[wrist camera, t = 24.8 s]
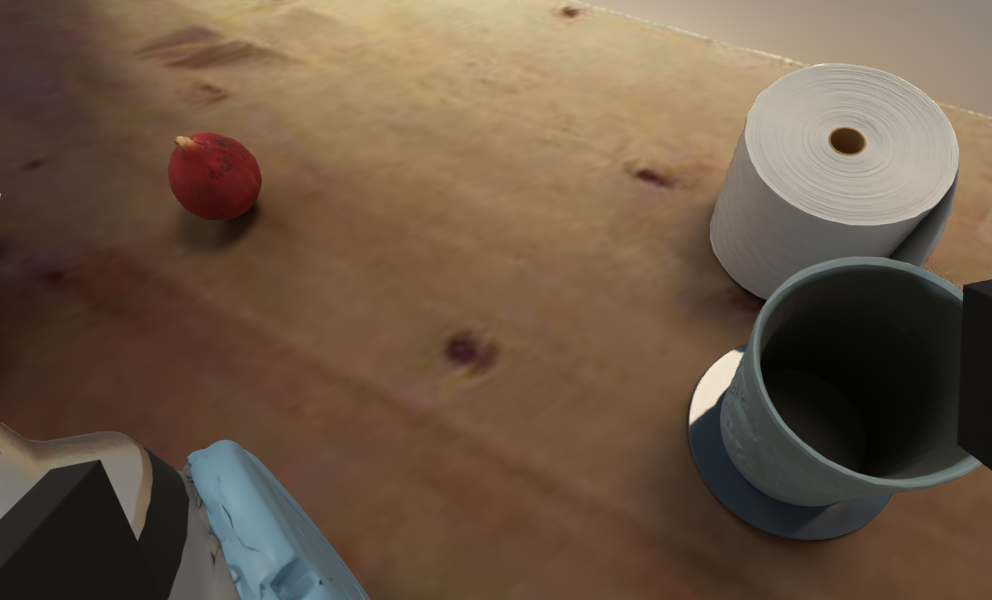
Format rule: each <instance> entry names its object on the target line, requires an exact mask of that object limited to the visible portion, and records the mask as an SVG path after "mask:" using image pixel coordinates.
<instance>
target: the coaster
mask: <svg viewBox="0 0 992 600" xmlns="http://www.w3.org/2000/svg"><path fill="white" fill-rule="evenodd" d="M747 346H748V344H744V345H742V346H740V347H737V348H735V349H733V350H731V351H729V352H728V353H726V354H724V355H723V356H722V357H720V358H719V359H718V360H717V361H715V362H714V363H713V364H712V365H711V366H710V367H709V369H708V370H707V371H706V372H705V373H704V375H703V376H702V378H701V379H700V381H699V382H698V384H697V386H696V388H695V390H694V392H693V395H692V398H691V401H690V404H689V409H688V415H687V436H688V444H689V448H690V452H691V456H692V458H693V461H694V464H695V466H696V469H697V471H698V472H699V474H700V476H701V478H702V480H703V482H704V483H705V484H706V486H707V487H708V489H709V490H710V492H711V493H712V494H713V495H714V496H715V497H716V499H717V500H718V501H719V502H720V503H721V504H722V505H723V506H724V507H725V508H726V509H728V510H729V511H730V512H731V513H732V514H733V515H735V516H736V517H738V518H739V519H740V520H742V521H743V522H745V523H747V524H749V525H750V526H752V527H754V528H756V529H758V530H760V531H763V532H765V533H768V534H770V535H773V536H777V537H781V538H784V539H791V540H798V541H819V540H827V539H831V538H835V537H839V536H842V535H846V534H848V533H850V532H852V531H855V530H857V529H859V528H860V527H862V526H864V525H865V524H867V523H868V522H870V521H871V520H872V519H873V518H874V517H875V516H876V515H877V514H879V513H880V511H881V510H882V509H883V508H884V506H885V505H886V504H887V503H888V501H889V499H890V497H891V495H892V494H888V495H883V496H877V497H867V498H864V499H859V500H851V501H844V502H838V503H834V504H830V505H825V506H816V507H808V506H798V505H793V504H788V503H785V502H782V501H779V500H777V499H774V498H772V497H770V496H768V495H766V494H765V493H763V492H762V491H760V490H758V489H757V488H755V487H754V486H753V485H752V484H751V483H750V482H748V481H747V480H746V479H745V478H744V477H743V475H742V474H741V473H740V472H739V471H738V470H737V468H736V467H735V465H734V464H733V462H732V461H731V459H730V457H729V455H728V453H727V451H726V448H725V446H724V442H723V439H722V434H721V428H720V414H721V406H722V403H723V399H724V397H725V394H726V392H727V390H728V388H729V385H730V383H731V381H732V379H733V377H734V375H735V372H736V369H737V367H738V365H739V362H740V360H741V358H742V356H743V354H744V353H745V351H746V349H747Z"/></svg>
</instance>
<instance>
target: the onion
mask: <svg viewBox="0 0 992 600" xmlns="http://www.w3.org/2000/svg"><path fill="white" fill-rule="evenodd" d="M175 143H176V144H177V146H176V148H175V149H174V151H173V153H172V154H171V158H170V162H169V166H168V176H169V181H170V186H171V189H172V192H173V193H174V195H175V197H176V198H177V200H178V201H179V202H180V203H181V204H182V206H183V207H184V208H185V209H186V210H188V211H189V212H191V213H192V214H195V215H197V216H199V217H201V218H204V219H206V220H229V219H232V218H235V217H239V216H240V215H242V214H243V213H245V212H246V211H248V210H249V208H250V207H251V206H252V205H253V203H254V202H255V201H256V200H257V198H258V195H259V191H260V188H261V181H262V178H261V174H260V170H259V166H258V164H257V162H256V159H255V157H254V156H253V155H252V154H251V153H250V152H249V151H248V150H247V149H246V148H245V147H244V146H243V145H241V144H240V143H239V142H237V141H236V140H234V139H232V138H228V137H224V136H221V135H218V134H215V133H199V134H194V135H192V136H190V137H185V136H177V137H176V138H175Z"/></svg>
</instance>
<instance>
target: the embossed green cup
mask: <svg viewBox="0 0 992 600" xmlns="http://www.w3.org/2000/svg"><path fill="white" fill-rule="evenodd" d="M962 305H963V291H961V290H960V289H959V288H957V287H956V286H954V285H953V284H951V283H950V282H948V281H946V280H945V279H943V278H941V277H939V276H937V275H936V274H934V273H932V272H930V271H927V270H925V269H922V268H919V267H917V266H914V265H912V264H909V263H905V262H900V261H896V260H892V259H888V258H880V257H860V256H855V257H846V258H838V259H834V260H830V261H826V262H823V263H819V264H816V265H813V266H811V267H808V268H806V269H803V270H801V271H799V272H798V273H796V274H794V275H793V276H791V277H790V278H788V279H787V280H786V281H785V282H784V283H783V284H782V285H780V286H779V287H778V288H777V289H776V290H775V292H774V293H773V294H772V295H771V296H770V297H769V299H768V300H767V301H766V303H765V304H764V306H763V307H762V309H761V311H760V313H759V315H758V317H757V320H756V322H755V324H754V327H753V330H752V333H751V336H750V339H749V342H748V346H747V349H746V351H745V353H744V354H743V356H742V358H741V360H740V362H739V365H738V367H737V369H736V372H735V375H734V377H733V379H732V381H731V383H730V385H729V388H728V390H727V392H726V394H725V397H724V399H723V403H722V406H721V414H720V428H721V434H722V439H723V442H724V446H725V448H726V451H727V453H728V455H729V457H730V459H731V461H732V462H733V464H734V465H735V467H736V468H737V470H738V471H739V472H740V473H741V474H742V475H743V477H744V478H745V479H746V480H747V481H748V482H750V483H751V484H752V485H753V486H754V487H755V488H757V489H758V490H760V491H762V492H763V493H765V494H766V495H768V496H770V497H772V498H774V499H777V500H779V501H782V502H785V503H788V504H793V505H798V506H808V507H816V506H825V505H830V504H834V503H838V502H844V501H851V500H859V499H864V498H867V497H877V496H883V495H888V494H893V493H897V492H905V491H911V490H917V489H923V488H930V487H933V486H937V485H940V484H944V483H947V482H950V481H953V480H956V479H958V478H960V477H963V476H965V475H967V474H968V473H970V472H971V471H973V470H974V469H976V468H977V467H979V466H980V465H982V464H983V463H981V462H980V461H979V460H977V459H976V458H975V457H973V456H972V455H971V454H969V453H968V452H967V451H965V450H964V449H963V448H961V447H960V446H959V445H957V428H958V403H959V379H960V354H961V330H962Z"/></svg>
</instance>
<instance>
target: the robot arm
mask: <svg viewBox="0 0 992 600" xmlns="http://www.w3.org/2000/svg"><path fill="white" fill-rule="evenodd" d="M957 445H959V446H960V447H961V448H963V449H964V450H965V451H967V452H968V453H969V454H971V455H972V456H973V457H975V458H976V459H977V460H979V461H980V462H981V463H983V464H984V465H985V466H986V467H988V468H989V469H990V470H992V279H991V280H986V281H981V282H976V283H971V284H966V285H963V305H962V330H961V354H960V379H959V403H958V428H957ZM187 458H188V459H189V460H188V462H187V463H186V465H185V467H184V469H183V470H182V471H178V470H175V469H174V468H173V467H171V466H169V465H168V464H166V463H165V462H164V461H162V460H161V459H160V458H158V457H157V456H156V455H154V454H153V453H152V452H150V451H149V450H147V449H146V448H145V447H143V446H142V445H141V444H139V443H138V442H137V441H135V440H133V439H131V438H130V437H128V436H127V435H125V434H124V433H119V432H113V431H107V432H95V433H90V434H84V435H78V436H72V437H67V438H61V439H55V440H49V441H36V440H27V439H26V438H24V437H23V436H21V435H20V434H18V433H17V432H15V431H14V430H12V429H11V428H9V427H8V426H6V425H5V424H3V423H2V422H0V600H370V598H369V597H368V595H367V594H366V592H365V591H364V590H363V588H362V587H361V585H360V584H359V582H358V581H357V580H356V578H355V577H354V575H353V574H352V573H351V571H350V570H349V569H348V567H347V566H346V564H345V563H344V562H343V560H342V559H341V558H340V556H339V555H338V554H337V552H336V551H335V550H334V548H333V547H332V546H331V544H330V543H329V542H328V541H327V539H326V538H325V537H324V535H323V534H322V533H321V532H320V530H319V529H318V528H317V526H316V525H315V524H314V523H313V521H312V520H311V519H310V518H309V516H308V515H307V514H306V513H305V511H304V510H303V509H302V508H301V506H300V505H299V504H298V503H297V502H296V501H295V499H294V498H293V497H292V496H291V495H290V494H289V492H288V491H287V490H286V489H285V488H284V487H283V485H282V484H281V483H280V482H279V481H278V480H277V479H276V478H275V476H274V475H273V474H272V473H271V472H270V471H269V470H268V469H267V468H266V467H265V466H264V465H263V464H262V463H261V462H260V461H259V460H258V459H257V458H256V457H255V456H254V455H252V454H251V453H249V452H248V451H246V450H244V449H243V448H242V447H241V446H240V445H239V444H237V443H236V442H234V441H230V440H221V441H218V442H215V443H213V444H212V445H211V446H209V447H208V448H206V449H204V450H198V451H196V452H194V451H193V452H192V453H191V454H190V455H189V456H188V457H187Z"/></svg>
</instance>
